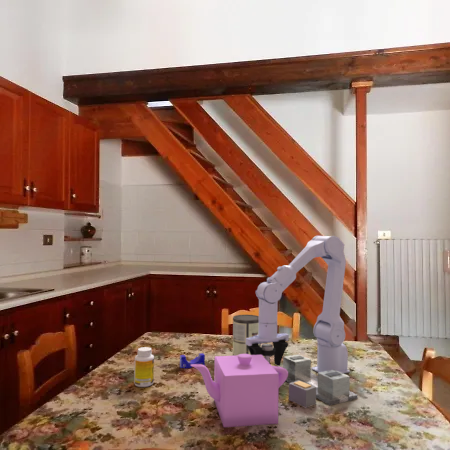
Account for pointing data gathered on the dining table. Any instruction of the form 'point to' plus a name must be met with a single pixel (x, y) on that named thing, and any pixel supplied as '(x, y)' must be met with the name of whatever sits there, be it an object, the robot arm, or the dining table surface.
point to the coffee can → (244, 332)
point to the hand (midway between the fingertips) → (267, 366)
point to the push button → (267, 351)
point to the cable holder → (192, 361)
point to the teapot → (244, 389)
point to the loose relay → (302, 393)
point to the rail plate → (319, 380)
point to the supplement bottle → (144, 367)
